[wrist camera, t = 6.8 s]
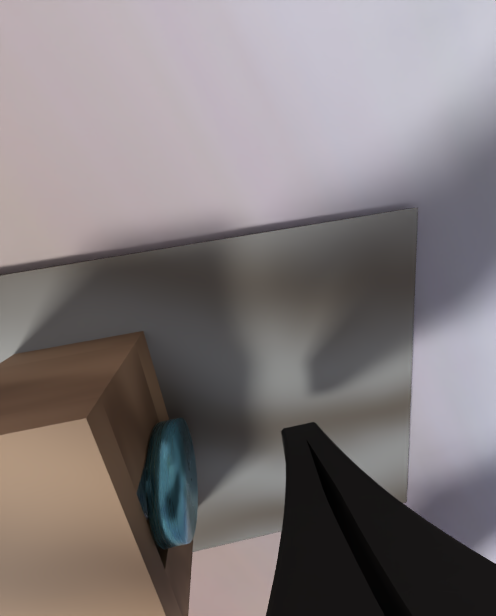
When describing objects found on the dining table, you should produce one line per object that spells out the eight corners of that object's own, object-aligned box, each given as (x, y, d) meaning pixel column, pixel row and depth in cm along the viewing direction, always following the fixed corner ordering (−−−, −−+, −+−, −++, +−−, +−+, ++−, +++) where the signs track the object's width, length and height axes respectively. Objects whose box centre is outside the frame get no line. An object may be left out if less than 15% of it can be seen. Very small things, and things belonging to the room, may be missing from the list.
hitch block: (402, 495, 16) (493, 628, 11) (12, 585, 15) (-101, 788, 10) (411, 208, 11) (586, 195, 6) (-173, 303, 10) (-622, 397, 5)
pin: (200, 469, 13) (193, 573, 9) (-69, 527, 12) (-199, 666, 8) (180, 397, 12) (164, 482, 8) (-120, 456, 11) (-300, 581, 7)
